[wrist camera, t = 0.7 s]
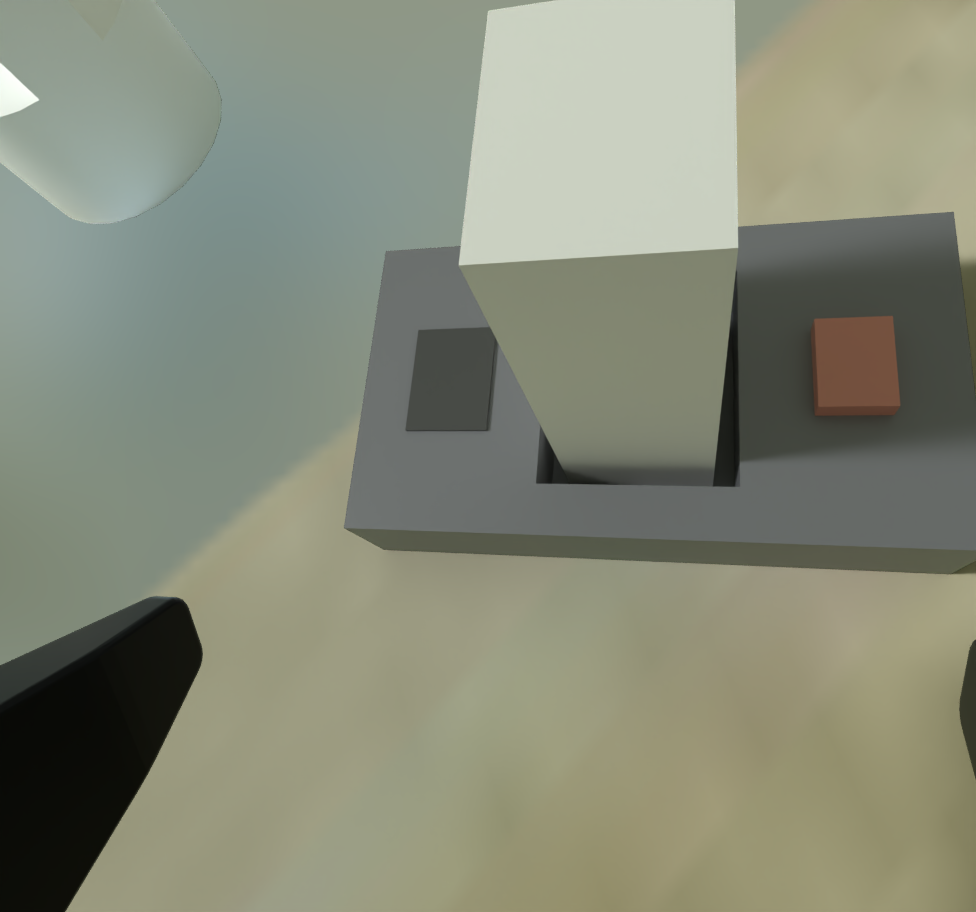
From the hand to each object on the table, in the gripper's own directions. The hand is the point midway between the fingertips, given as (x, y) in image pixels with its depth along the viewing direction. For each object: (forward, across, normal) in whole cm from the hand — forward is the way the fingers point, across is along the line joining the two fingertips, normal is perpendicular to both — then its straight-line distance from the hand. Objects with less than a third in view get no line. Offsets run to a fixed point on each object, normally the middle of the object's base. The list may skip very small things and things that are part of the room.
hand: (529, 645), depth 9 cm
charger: (+15, 0, +3) cm, 15 cm away
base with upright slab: (+25, +22, -6) cm, 34 cm away
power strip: (+15, 0, +3) cm, 15 cm away
